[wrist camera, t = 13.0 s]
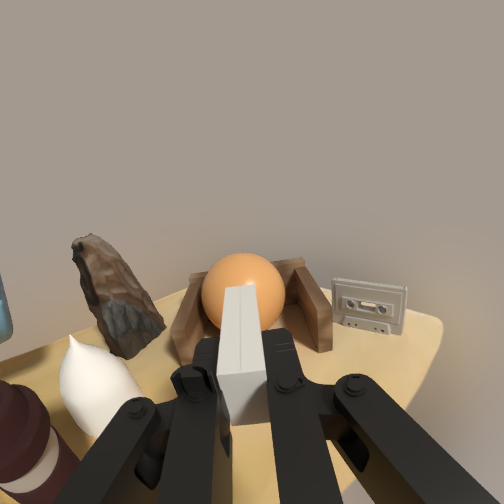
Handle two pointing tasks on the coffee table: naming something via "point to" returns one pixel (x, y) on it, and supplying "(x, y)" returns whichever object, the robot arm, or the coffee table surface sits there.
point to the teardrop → (94, 386)
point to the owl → (116, 297)
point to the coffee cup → (31, 448)
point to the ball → (238, 274)
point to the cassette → (366, 316)
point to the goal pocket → (296, 291)
